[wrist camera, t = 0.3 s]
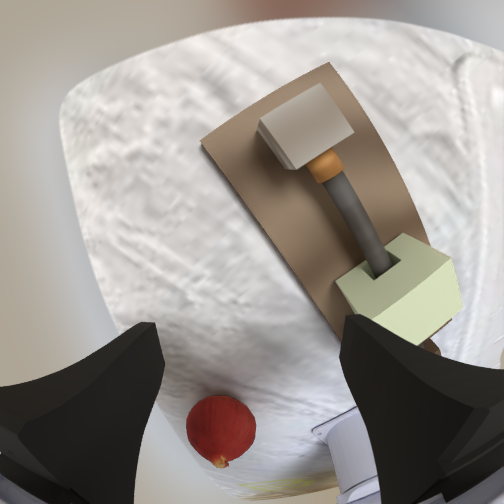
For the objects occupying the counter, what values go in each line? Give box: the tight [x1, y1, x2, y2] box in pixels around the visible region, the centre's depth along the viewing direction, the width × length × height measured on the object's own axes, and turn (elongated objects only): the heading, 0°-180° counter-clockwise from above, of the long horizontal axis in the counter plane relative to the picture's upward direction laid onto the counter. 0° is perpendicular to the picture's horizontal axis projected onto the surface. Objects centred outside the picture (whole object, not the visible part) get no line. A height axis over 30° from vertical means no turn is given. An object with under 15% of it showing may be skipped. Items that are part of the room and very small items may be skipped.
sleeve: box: [336, 233, 463, 345], centre depth 16 cm, size 4×6×6 cm, turn 125°
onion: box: [186, 395, 256, 468], centre depth 19 cm, size 6×6×8 cm
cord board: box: [200, 62, 452, 356], centre depth 17 cm, size 24×10×5 cm, turn 35°
